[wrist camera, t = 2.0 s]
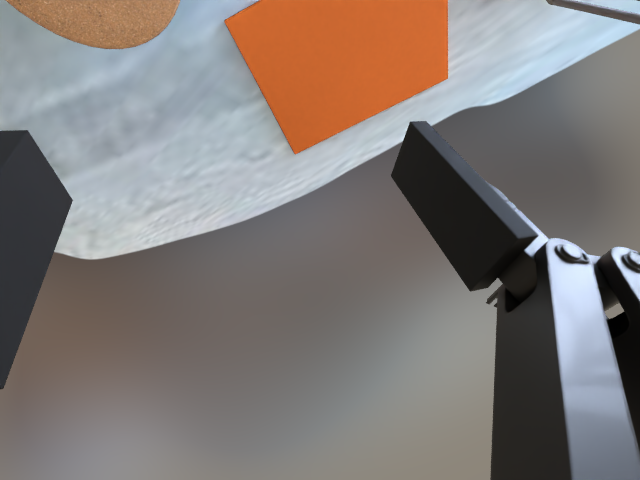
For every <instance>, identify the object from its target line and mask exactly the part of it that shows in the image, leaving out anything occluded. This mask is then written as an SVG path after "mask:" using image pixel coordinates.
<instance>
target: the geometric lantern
mask: <svg viewBox="0 0 640 480" xmlns="http://www.w3.org/2000/svg"><path fill="white" fill-rule="evenodd" d="M546 1H547V2H548V3H549V4H550V5H556V6H561V7H565V8H570V9H574V10H579V11H583V12H588V13H592V14H597V15H601V16H605V17H610V18H614V19H618V20H623V21H627V22H632V23H636V24H640V14H637V13H632V12H628V11H623V10H618V9H613V8H608V7H603V6H598V5H593V4H588V3H583V2H578V1H573V0H546ZM638 1H640V0H638Z"/></svg>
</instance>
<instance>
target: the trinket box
mask: <svg viewBox="0 0 640 480" xmlns="http://www.w3.org/2000/svg"><path fill="white" fill-rule="evenodd" d="M6 1H7V2H8V3H9V4H11V5H12V6H13V7H14V8H16V9H17V10H18V11H19V12H21V13H22V14H24V15H25V16H27V17H28V18H30V19H31V20H33V21H34V22H36V23H37V24H39V25H41V26H42V27H44V28H46V29H48V30H50V31H52V32H53V33H55V34H57V35H60V36H62V37H64V38H67V39H69V40H72V41H74V42H77V43H81V44H84V45H88V46H91V47H98V48H104V49H124V48H130V47H136V46H138V45H141V44H144V43H146V42H148V41H150V40H151V39H153V38H154V37H156V36H158V35H159V34H160V33H161V32H162V31H163V30H164V29H165V28H166V27H167V26H168V24H169V23H170V21H171V20H172V18H173V16H174V15H175V12H176V10H177V8H178V5H179V3H180V0H6Z"/></svg>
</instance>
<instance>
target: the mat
mask: <svg viewBox="0 0 640 480" xmlns="http://www.w3.org/2000/svg"><path fill="white" fill-rule="evenodd" d="M225 23H226V25H227V27H228V29H229V31H230V33H231V35H232V37H233V39H234V40H235V42H236V44H237V46H238V48H239V50H240V52H241V54H242V55H243V57H244V59H245V61H246V63H247V65H248V67H249V69H250V71H251V72H252V74H253V76H254V78H255V80H256V82H257V84H258V86H259V88H260V89H261V91H262V93H263V95H264V97H265V99H266V101H267V103H268V105H269V106H270V108H271V110H272V112H273V114H274V116H275V118H276V120H277V121H278V123H279V125H280V127H281V129H282V131H283V133H284V135H285V137H286V138H287V140H288V142H289V144H290V146H291V148H292V150H293V152H294V154H297V153H299V152H301V151H303V150H305V149H307V148H309V147H311V146H313V145H315V144H317V143H319V142H321V141H323V140H325V139H327V138H329V137H331V136H333V135H335V134H337V133H339V132H341V131H343V130H345V129H347V128H349V127H351V126H353V125H355V124H357V123H359V122H361V121H363V120H365V119H367V118H369V117H371V116H373V115H375V114H377V113H379V112H381V111H384V110H386V109H388V108H390V107H392V106H394V105H396V104H398V103H400V102H402V101H404V100H406V99H408V98H410V97H412V96H414V95H416V94H418V93H420V92H422V91H424V90H426V89H428V88H430V87H432V86H434V85H436V84H438V83H440V82H442V81H444V80H446V79H448V0H260V1H258V2H256V3H254V4H253V5H251V6H249V7H247V8H246V9H244V10H242V11H240V12H238V13H237V14H235V15H233V16H231V17H230V18H228V19H226V20H225Z"/></svg>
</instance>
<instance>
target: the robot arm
mask: <svg viewBox="0 0 640 480" xmlns="http://www.w3.org/2000/svg"><path fill="white" fill-rule="evenodd" d="M391 177H392V178H393V180H394V181H395V183H396V184H397V186H398V187H399V189H400V190H401V191H402V193H403V194H404V196H405V197H406V199H407V200H408V201H409V203H410V204H411V206H412V208H413V209H414V210H415V212H416V213H417V215H418V216H419V218H420V219H421V221H422V222H423V224H424V225H425V226H426V228H427V229H428V231H429V232H430V234H431V235H432V237H433V238H434V239H435V241H436V243H437V244H438V245H439V247H440V248H441V250H442V251H443V252H444V254H445V256H446V257H447V259H448V260H449V261H450V263H451V264H452V266H453V267H454V268H455V270H456V271H457V273H458V275H459V276H460V277H461V279H462V280H463V282H464V283H465V285H466V286H467V288H468V289H469V291H475V290H479V289H484V288H488V287H489V286H490V285H491V284H492V283H493V282H494V281H495V280H496V278H499V279H500V281H501V282H502V283H503V284H502V285H501V286H500V287H499V288H498V289H497V290H496V291H495V292H494V293H493V294H492V295H491V296H490V297H489V298H488V299H487V302H486V303H487V304H490V303H491V302H492V301H493V300H494V299H495V298H498V300H497V303H496V304H495V305H494V307H497V326H496V353H495V354H496V355H495V377H494V403H493V404H494V405H493V431H492V455H491V480H640V253H638V252H637V251H635V250H631V249H628V248H625V247H615V248H612V249H611V250H610V251H608V252H607V253H606V254H605V255H603V256H602V257H601V256H593V255H587V254H586V253H585V252H584V251H583V250H582V249H581V248H579V247H578V246H577V245H575V244H573V243H571V242H569V241H567V240H563V239H559V238H554V239H553V238H552V239H550V240H549V239H548V238H547V237H546V236H545V235H544V234H543V233H542V232H541V231H540V230H539V229H538V228H537V227H536V226H535V225H534V224H533V223H532V222H531V221H530V220H529V219H528V218H527V217H526V216H525V215H524V214H523V213H522V212H521V211H520V210H517V207H516V206H515V205H514V204H513V203H512V202H509V199H508V198H506V196H505V195H504V194H503V193H502V192H501V191H499V190H498V189H497V188H495V187H493V186H492V185H490V184H489V183H487V182H486V181H485V180H484V179H483V178H482V177H481V176H480V175H479V174H478V173H477V172H476V171H475V170H474V169H473V168H472V167H471V166H470V165H469V164H468V163H467V162H466V161H465V160H464V159H463V158H462V157H461V156H460V155H459V154H458V153H457V152H456V151H455V150H454V149H453V148H452V147H451V146H450V145H449V144H448V143H447V142H446V141H445V140H444V139H443V138H442V137H441V136H440V135H439V134H438V133H437V132H436V131H435V130H434V129H433V128H432V127H431V126H430V125H429V124H428V123H427V122H426V121H417V122H410V124H409V127H408V129H407V132H406V135H405V138H404V141H403V143H402V146H401V149H400V152H399V155H398V157H397V160H396V163H395V166H394V169H393V171H392V174H391ZM72 201H73V200H72V198H71V197H70V195H69V194H68V192H67V190H66V189H65V187H64V186H63V184H62V183H61V181H60V180H59V178H58V177H57V175H56V173H55V172H54V170H53V169H52V167H51V166H50V164H49V163H48V161H47V160H46V158H45V156H44V155H43V153H42V152H41V150H40V149H39V147H38V146H37V144H36V142H35V141H34V139H33V138H32V136H31V135H30V133H29V132H28V130H19V131H0V389H3V388H4V385H5V383H6V380H7V377H8V374H9V371H10V369H11V366H12V364H13V361H14V358H15V355H16V353H17V350H18V347H19V345H20V342H21V339H22V337H23V334H24V331H25V328H26V326H27V323H28V320H29V317H30V315H31V312H32V309H33V307H34V304H35V301H36V299H37V296H38V293H39V290H40V288H41V285H42V282H43V279H44V277H45V274H46V271H47V269H48V266H49V263H50V261H51V258H52V255H53V252H54V250H55V247H56V244H57V242H58V239H59V236H60V234H61V231H62V228H63V225H64V223H65V220H66V217H67V215H68V212H69V209H70V206H71V204H72ZM618 303H620V304H621V306H622V308H623V309H624V312H623V313H621V314H619V315H617V316H616V317H614V318H611V319H609V318H607V316H606V315H605V312H604V311H606V310H608V309H609V308H611V307H613V306H614V305H616V304H618Z"/></svg>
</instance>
